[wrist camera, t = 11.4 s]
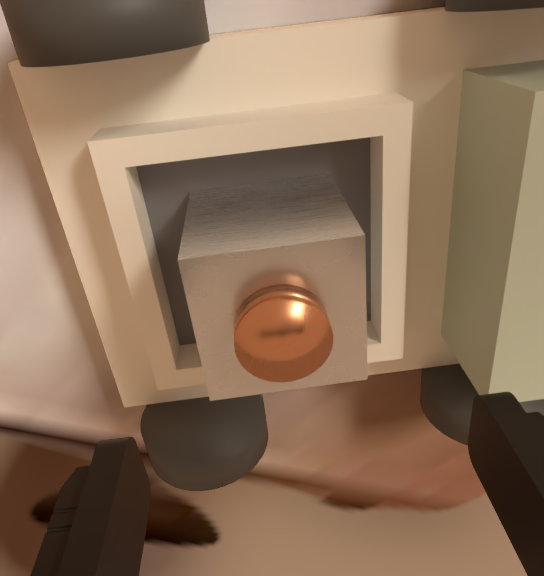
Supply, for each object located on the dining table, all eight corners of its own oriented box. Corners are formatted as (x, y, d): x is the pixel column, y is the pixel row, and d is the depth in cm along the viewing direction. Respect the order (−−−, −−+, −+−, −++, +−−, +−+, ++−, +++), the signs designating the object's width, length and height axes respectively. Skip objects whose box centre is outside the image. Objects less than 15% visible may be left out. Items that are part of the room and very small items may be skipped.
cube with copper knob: (329, 172, 20) (373, 250, 14) (335, 291, 23) (375, 399, 17) (190, 190, 20) (174, 276, 14) (213, 308, 23) (209, 422, 16)
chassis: (613, -76, 18) (805, -112, 12) (527, 357, 28) (609, 455, 22) (7, -5, 18) (-105, -6, 12) (139, 408, 28) (115, 522, 22)
